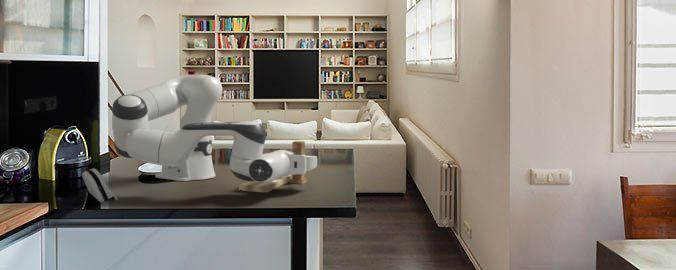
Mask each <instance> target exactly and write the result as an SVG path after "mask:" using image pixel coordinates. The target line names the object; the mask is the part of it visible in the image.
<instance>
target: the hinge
mask: <svg viewBox="0 0 676 270" xmlns="http://www.w3.org/2000/svg"><path fill="white" fill-rule="evenodd" d="M81 176H82V179H83V181H84V184H85V186H86V188H87V190H88V192H89V193H90V195H92V196H93V197H94V198H95V199H96V200H97V201H99V202H100V203H103V202H104V201H105V200H106V199H111V198H112V199H114V200H116V201H118V198H117V195H116V194H115V193H114V192H112V191H111V190H110V189H109V187H108V185H107V182H106V181H105V178H104V177H103V175H102V174H101V173H100V172H99V170H98V169H96V168H91V169H89V170H88V171H87V170H85V171H84V172H82V173H81Z"/></svg>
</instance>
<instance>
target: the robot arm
mask: <svg viewBox="0 0 676 270" xmlns="http://www.w3.org/2000/svg"><path fill="white" fill-rule="evenodd" d="M222 85H223V84H222V83H221V81H220V80H219V79H218V78H217V77H215V76H211V75H208V74H181V75H179V76H178V75H177V76H175V77H173V78H171V79H169V80H167V81H165V82H162V83H160V84H157V85H152V86H150V87H145V88H142V89H139V90H137V91H134V92H132V93H129V94H124V95H120V96H119V97H118V98H116V99H115V100H114V101H113V103H112V107H111V113H112V115H111V129H112V134H113V135H112V136H113V145H114V148H115V149H114V150H115V151H116V153H117V154H119V155H120V156H121V157H124V158H127V159H135V160H138V161H141V162H143V163H148V164H152V165H158V166H161V172H162V173H161V174H158V173H155V178H157V179H164V180H165V179H166V180H172V181H177V182H188V181H200V180H208V179H212V178H215V177H216V172H215V170H214V164H213V156H212V154H213V152H212V151H213V142H212V141H213V140H212V139H211V137H212V136H215V137H216V136H219V137H220V136H221V137H223V136H226V137H227V136H231V137H233V143H232V151H231V154H230V160H229V170H230V172H231V174H233V175H234V176H235V178H237V179H240V180H242V181H245V182H247V181H257V182H271V181H274V180H276V179H278V178H281V177H283V176H289V175H299V174H306V173H307V172H308V171H311V170H314V169H316V168H317V166H318V156H316V155H306V154H305V155H304V154H297V153H292V151H288V150H286V149H278V150H274V151H272V152H268V153H266V152H265V153H263V152H264V145H265V142H266V139H267V135H268V133H267V130H266V129H265V127H264V126H263V124H262V123H260V122H258V121H253V120H244V121H234V122H232V121H231V122H228V121H227V122H221V121H220V122H218V121H217V122H215V121H214V122H211V121H212V116H213V112H214V108H215V105H216V104H217V102H218V101H219V100H220V99H221V97H222V94H223V86H222ZM184 106H186V110H185V113H184V115H183V116H182V117H181V119H180V121H179V124H180V125H179V126H180V127H179V129H177V130H164V129H155V128H154V129H152V128H150V125H149V122H150V121H154V120H156V119H159V118H162V117H165V116H167V115H171V114H173V113H175V112H176V111H177V110H178V109H180V108H181V107H184Z"/></svg>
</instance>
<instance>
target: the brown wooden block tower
mask: <svg viewBox="0 0 676 270" xmlns="http://www.w3.org/2000/svg"><path fill="white" fill-rule="evenodd" d="M305 143H306V141H305V140H304V141H302V140H295V141H292V145H291V148H292V149H291V150H292V151H291V152H292V153H297V154H304V155H306V148H305V147H306V145H305ZM305 174H306V173H305ZM305 174H299V175H292V178H291V179H290V182H289V184H295V185H297V184H298V185H303V184H305V183H307V182H308V177H306V176H305Z"/></svg>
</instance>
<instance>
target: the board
mask: <svg viewBox="0 0 676 270" xmlns="http://www.w3.org/2000/svg"><path fill="white" fill-rule="evenodd" d="M291 178H292V175H289V176H283V177H281V178H278V179H276V180H274V181H271V182H257V181H245V182H243V183H240V184H239V185H238V186H239V189H238V191H240V190H242V191H243V192H254V193H265V192H266V193H268V192H270V191H273V190H275V189H277V188H279V187H281V186H284V185H285V184H288V183H290V179H291Z"/></svg>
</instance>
